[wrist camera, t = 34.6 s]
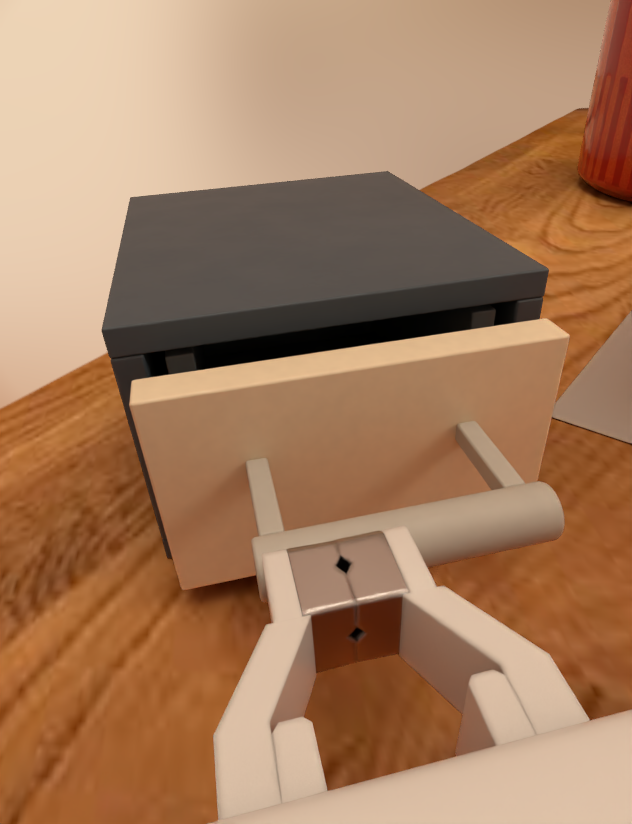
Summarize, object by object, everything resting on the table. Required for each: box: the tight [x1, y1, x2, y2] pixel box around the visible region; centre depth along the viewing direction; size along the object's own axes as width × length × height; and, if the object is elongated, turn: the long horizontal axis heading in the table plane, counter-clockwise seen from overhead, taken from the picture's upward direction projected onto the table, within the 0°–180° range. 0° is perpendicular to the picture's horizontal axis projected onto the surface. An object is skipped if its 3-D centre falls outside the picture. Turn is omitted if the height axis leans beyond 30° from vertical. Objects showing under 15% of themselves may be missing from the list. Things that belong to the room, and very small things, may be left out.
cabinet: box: [102, 171, 549, 558], centre depth 24 cm, size 15×13×9 cm
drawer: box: [129, 304, 570, 603], centre depth 20 cm, size 18×12×7 cm, turn 13°
